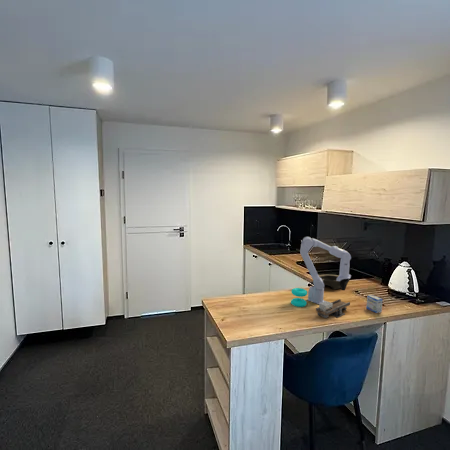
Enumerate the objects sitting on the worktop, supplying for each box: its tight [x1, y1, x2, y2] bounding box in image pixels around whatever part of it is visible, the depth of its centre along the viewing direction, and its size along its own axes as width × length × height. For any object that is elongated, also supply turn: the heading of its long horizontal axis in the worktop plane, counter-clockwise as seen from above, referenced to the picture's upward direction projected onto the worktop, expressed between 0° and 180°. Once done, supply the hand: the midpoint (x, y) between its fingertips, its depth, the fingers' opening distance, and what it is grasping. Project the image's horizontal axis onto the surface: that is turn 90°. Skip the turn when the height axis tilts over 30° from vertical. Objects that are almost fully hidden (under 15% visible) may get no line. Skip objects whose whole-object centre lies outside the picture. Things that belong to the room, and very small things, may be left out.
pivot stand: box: [329, 307, 347, 318], centre depth 187 cm, size 11×16×4 cm
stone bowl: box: [318, 274, 341, 290], centre depth 239 cm, size 25×25×9 cm
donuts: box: [290, 287, 308, 308], centre depth 197 cm, size 10×10×10 cm
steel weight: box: [318, 300, 333, 312], centre depth 180 cm, size 4×7×4 cm, turn 129°
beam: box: [315, 298, 351, 319], centre depth 185 cm, size 7×26×4 cm, turn 129°
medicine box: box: [365, 294, 384, 314], centre depth 190 cm, size 8×4×9 cm, turn 24°
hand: (343, 289), depth 200 cm, fingers closed
